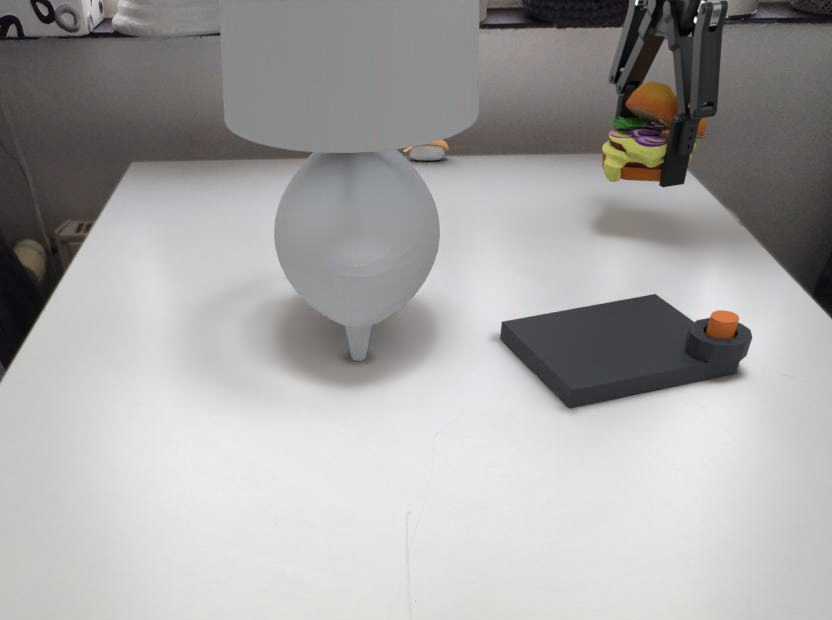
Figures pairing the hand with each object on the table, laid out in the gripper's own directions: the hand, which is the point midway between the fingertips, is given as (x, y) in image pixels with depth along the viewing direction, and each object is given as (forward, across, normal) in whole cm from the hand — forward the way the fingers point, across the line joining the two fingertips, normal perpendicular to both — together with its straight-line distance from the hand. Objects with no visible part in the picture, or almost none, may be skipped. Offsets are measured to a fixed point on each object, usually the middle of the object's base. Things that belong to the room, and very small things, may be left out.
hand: (645, 170), depth 103 cm
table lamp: (+6, +14, -40) cm, 43 cm away
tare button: (+3, +33, -12) cm, 35 cm away
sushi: (+6, -32, -14) cm, 36 cm away
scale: (+6, +28, -19) cm, 34 cm away
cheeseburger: (0, 0, 0) cm, 0 cm away
